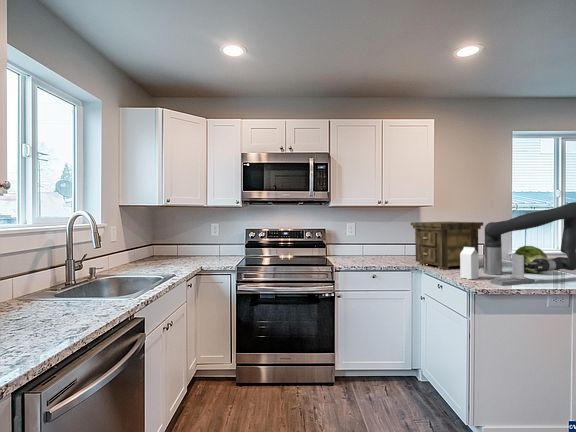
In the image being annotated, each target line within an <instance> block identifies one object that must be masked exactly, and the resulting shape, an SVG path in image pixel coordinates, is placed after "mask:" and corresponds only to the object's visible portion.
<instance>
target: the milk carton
mask: <svg viewBox="0 0 576 432" xmlns="http://www.w3.org/2000/svg"><path fill="white" fill-rule="evenodd" d="M479 259H480V258H479V252H478V253H477V251H476V250H475V248H473V247H464V249H463V250H462V252H461V253H460V266H459V268H460V269H459V270H460V271H459V273H460V274H459V275H460V278H461V277H462V278H461V279H463V278H467V279H466V280H469V279H474V280H479V279H480V273H479V272H480V271H479V270H480V268H479V266H480V265H479V263H480V262H479V261H480V260H479ZM478 278H479V279H478Z"/></svg>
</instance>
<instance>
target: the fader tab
mask: <svg viewBox="0 0 576 432" xmlns="http://www.w3.org/2000/svg"><path fill="white" fill-rule="evenodd" d="M510 278H515V279H526V278H527V276H525V271H524V255H516V254H514V253H513V254H511V275H510Z"/></svg>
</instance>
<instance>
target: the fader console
mask: <svg viewBox="0 0 576 432" xmlns="http://www.w3.org/2000/svg"><path fill="white" fill-rule="evenodd" d="M489 281H490V282H489V283H490V284H494V285H497V286H498V285H499V286H503V287H504V286H516V285H517V286H518V285H527V284H528V285H529V284H536V279H535V278H529V277H526V279H515V278H511V277H502V278H491V279H490V280H489Z"/></svg>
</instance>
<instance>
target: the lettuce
mask: <svg viewBox="0 0 576 432" xmlns="http://www.w3.org/2000/svg"><path fill="white" fill-rule="evenodd" d="M513 254H516V255H524V263H527V262H532V261H533V260H534V259H542V258H548V256H547V254H546V253H545V252H544V251H543V250H542V249H541V248H539V247H536V246H533V245H523V246H520V247H518V248H517V249H516V250H515V252H514V253H513ZM524 272H527V273H529V274H538V273H540V272H537V271H535V270H534V269H526V268H524Z"/></svg>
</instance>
